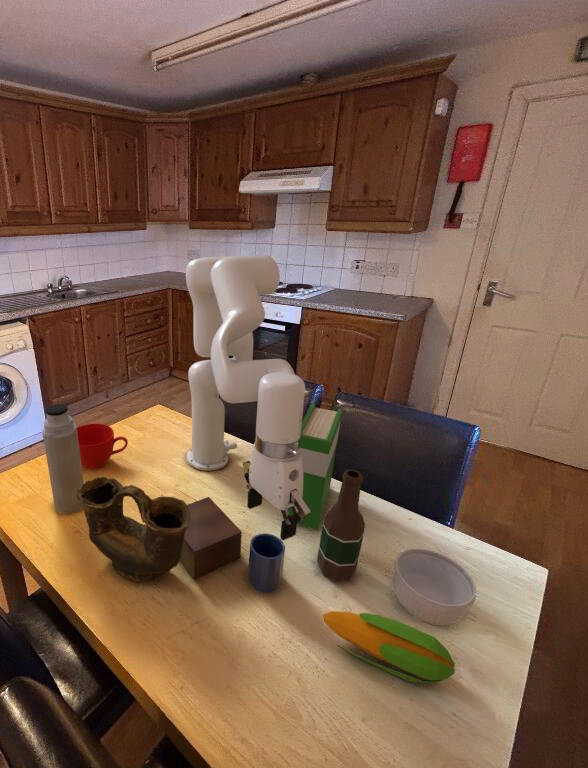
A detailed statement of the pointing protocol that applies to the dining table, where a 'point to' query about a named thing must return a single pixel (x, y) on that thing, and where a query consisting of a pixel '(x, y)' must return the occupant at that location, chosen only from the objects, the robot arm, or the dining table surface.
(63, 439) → the thermos bottle
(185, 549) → the box
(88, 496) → the pottery vessel
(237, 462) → the dining table surface
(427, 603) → the ramekin
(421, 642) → the corn
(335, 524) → the beer bottle
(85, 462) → the ceramic cup
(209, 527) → the box lid
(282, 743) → the dining table surface
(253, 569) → the cup
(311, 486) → the hardback book
